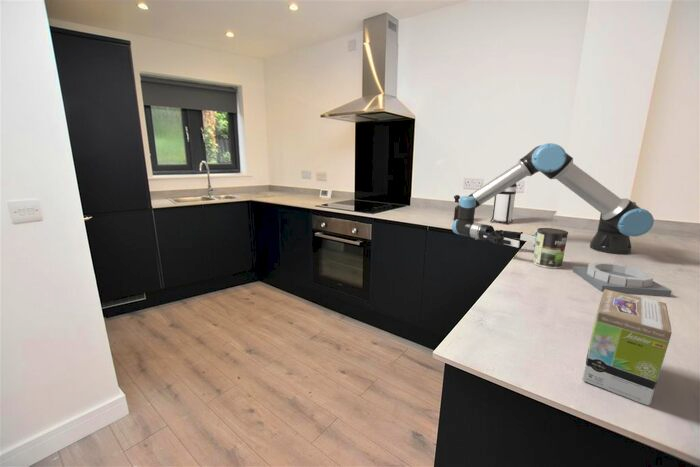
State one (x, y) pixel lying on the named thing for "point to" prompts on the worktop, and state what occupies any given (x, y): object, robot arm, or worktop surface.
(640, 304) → the tea box
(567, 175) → the robot arm
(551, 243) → the coffee can
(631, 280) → the housing
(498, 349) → the worktop surface
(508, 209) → the coffee press
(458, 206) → the manual coffee grinder
